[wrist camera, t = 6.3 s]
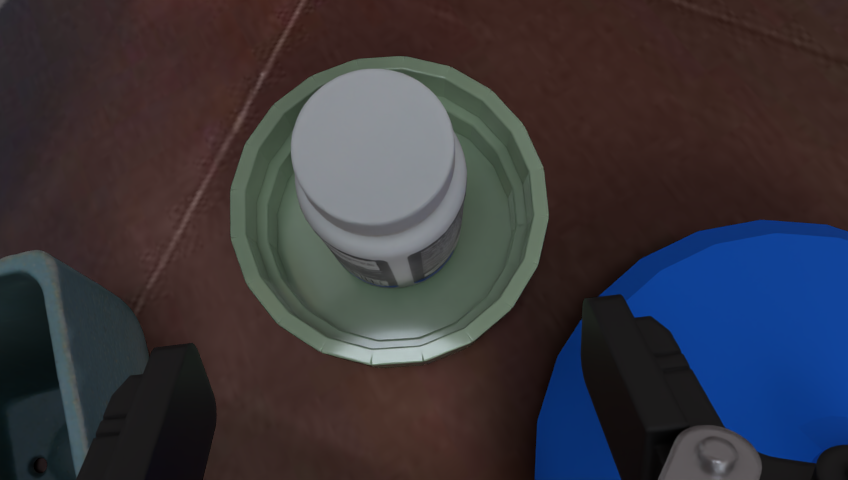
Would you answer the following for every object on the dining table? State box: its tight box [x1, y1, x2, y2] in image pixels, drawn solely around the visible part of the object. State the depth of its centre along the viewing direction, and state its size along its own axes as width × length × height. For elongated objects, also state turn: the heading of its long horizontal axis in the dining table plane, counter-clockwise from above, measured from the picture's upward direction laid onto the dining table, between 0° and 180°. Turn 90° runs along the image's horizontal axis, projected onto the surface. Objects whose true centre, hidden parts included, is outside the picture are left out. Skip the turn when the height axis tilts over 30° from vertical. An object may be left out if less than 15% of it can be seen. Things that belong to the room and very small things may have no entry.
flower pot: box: [0, 250, 149, 480], centre depth 19 cm, size 9×9×9 cm
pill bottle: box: [291, 69, 467, 288], centre depth 21 cm, size 5×5×8 cm
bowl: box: [230, 56, 549, 368], centre depth 23 cm, size 10×10×4 cm
